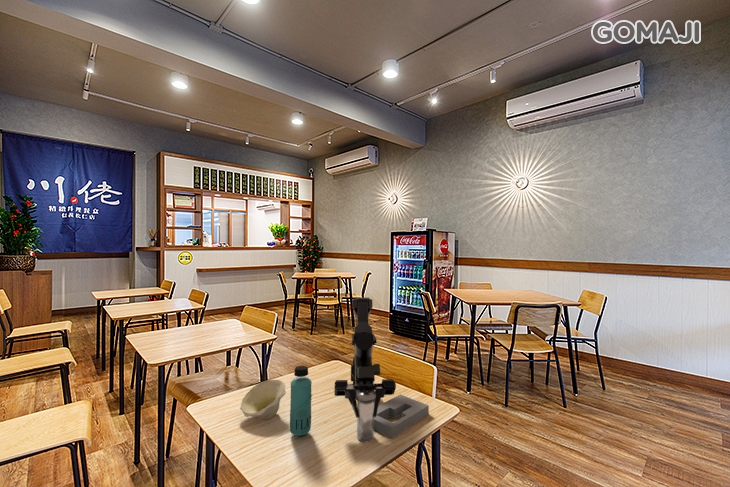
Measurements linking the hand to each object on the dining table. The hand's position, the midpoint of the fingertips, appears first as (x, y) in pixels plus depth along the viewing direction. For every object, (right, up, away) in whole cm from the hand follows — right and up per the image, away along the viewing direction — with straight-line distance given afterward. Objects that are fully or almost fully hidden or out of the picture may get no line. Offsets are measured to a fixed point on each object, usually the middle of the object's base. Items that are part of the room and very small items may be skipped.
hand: (366, 417), depth 97 cm
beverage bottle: (-20, -7, +2) cm, 21 cm away
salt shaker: (0, -7, +1) cm, 7 cm away
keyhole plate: (+10, -7, +12) cm, 17 cm away
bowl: (-34, -7, +12) cm, 37 cm away
